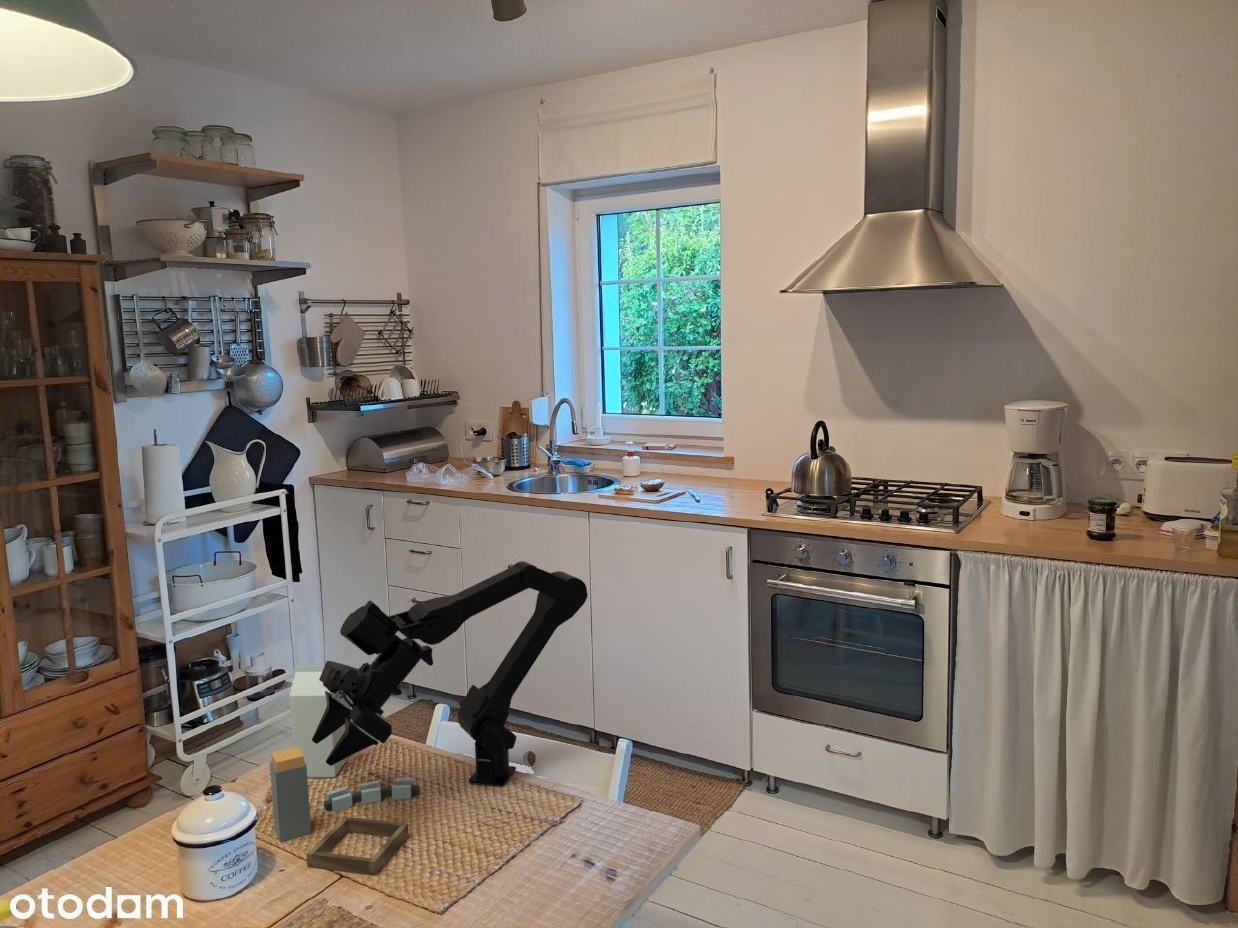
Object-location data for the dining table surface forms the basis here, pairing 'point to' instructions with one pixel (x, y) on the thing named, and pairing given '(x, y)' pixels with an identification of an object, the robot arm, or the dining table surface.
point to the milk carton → (312, 721)
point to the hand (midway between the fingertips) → (320, 752)
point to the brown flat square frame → (352, 863)
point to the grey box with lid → (290, 794)
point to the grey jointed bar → (370, 794)
